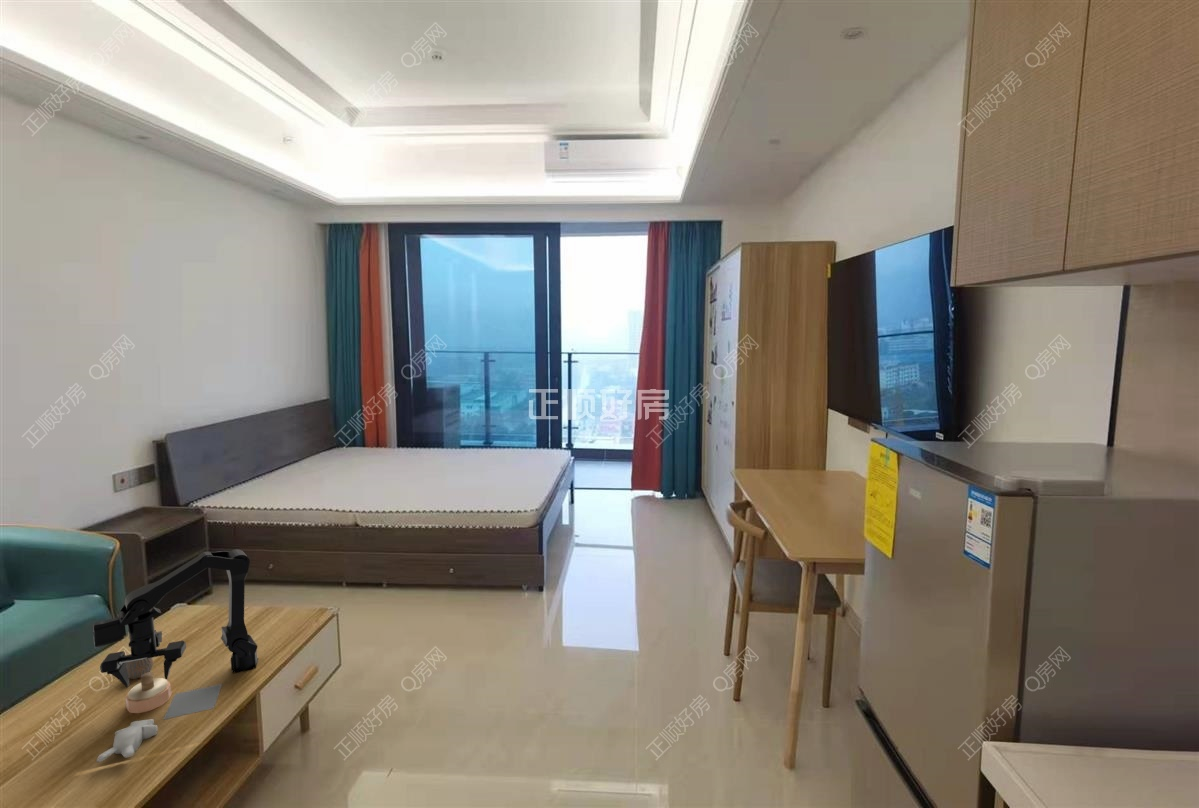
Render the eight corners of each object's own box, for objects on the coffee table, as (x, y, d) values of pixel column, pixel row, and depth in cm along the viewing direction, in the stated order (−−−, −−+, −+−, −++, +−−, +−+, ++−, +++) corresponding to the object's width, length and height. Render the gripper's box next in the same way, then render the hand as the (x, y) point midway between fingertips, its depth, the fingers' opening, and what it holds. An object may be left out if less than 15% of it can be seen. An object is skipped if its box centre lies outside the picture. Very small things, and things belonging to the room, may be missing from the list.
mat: (222, 685, 171) (222, 683, 171) (213, 710, 160) (213, 708, 160) (175, 695, 166) (175, 693, 166) (163, 721, 156) (162, 719, 155)
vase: (137, 683, 171) (134, 658, 170) (120, 680, 173) (117, 655, 172) (159, 670, 178) (156, 645, 177) (142, 667, 180) (139, 642, 178)
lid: (171, 678, 168) (169, 663, 168) (162, 696, 160) (160, 680, 159) (134, 685, 165) (132, 670, 164) (123, 704, 156) (121, 688, 156)
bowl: (175, 688, 170) (174, 676, 169) (165, 709, 161) (163, 696, 160) (134, 696, 165) (133, 684, 165) (122, 718, 156) (120, 705, 156)
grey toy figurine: (165, 711, 154) (134, 744, 140) (165, 729, 154) (135, 764, 140) (125, 717, 152) (90, 751, 137) (126, 735, 152) (91, 771, 137)
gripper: (188, 613, 171) (193, 659, 173) (112, 626, 163) (118, 674, 166) (178, 631, 161) (183, 680, 163) (96, 646, 153) (102, 697, 156)
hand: (147, 682), depth 162 cm, fingers open, 9 cm apart
